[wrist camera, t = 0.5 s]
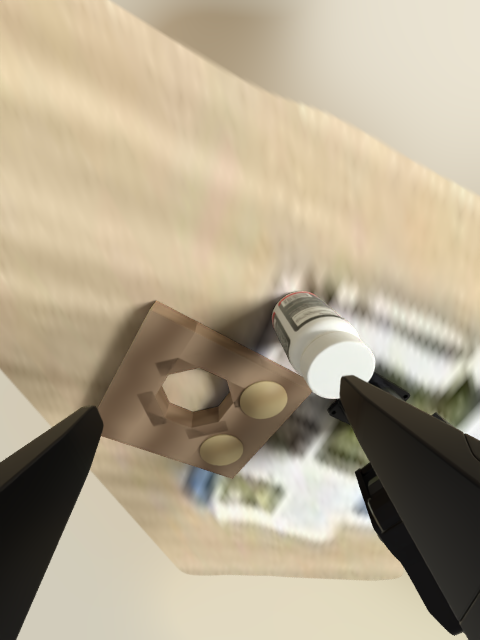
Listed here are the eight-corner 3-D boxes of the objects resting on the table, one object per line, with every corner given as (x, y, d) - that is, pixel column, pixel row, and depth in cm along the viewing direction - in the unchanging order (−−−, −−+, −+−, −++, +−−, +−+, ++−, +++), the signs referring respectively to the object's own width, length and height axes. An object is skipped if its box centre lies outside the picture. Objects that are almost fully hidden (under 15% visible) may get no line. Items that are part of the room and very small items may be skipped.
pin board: (305, 378, 24) (313, 393, 22) (231, 461, 28) (232, 480, 26) (156, 300, 19) (149, 310, 17) (95, 413, 24) (84, 432, 22)
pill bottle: (306, 345, 22) (351, 413, 15) (262, 329, 21) (285, 393, 14) (333, 301, 21) (400, 352, 13) (286, 281, 20) (329, 324, 12)
